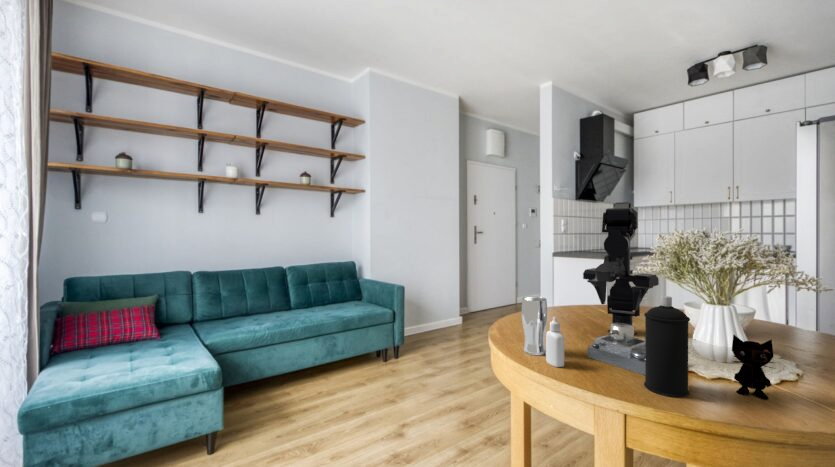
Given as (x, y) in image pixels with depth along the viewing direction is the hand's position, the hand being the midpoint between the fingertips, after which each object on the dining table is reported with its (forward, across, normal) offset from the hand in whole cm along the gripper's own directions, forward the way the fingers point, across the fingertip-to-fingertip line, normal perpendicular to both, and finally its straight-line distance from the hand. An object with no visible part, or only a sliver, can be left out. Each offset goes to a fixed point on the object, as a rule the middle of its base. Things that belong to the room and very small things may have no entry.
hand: (618, 307), depth 107 cm
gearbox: (+12, +7, -7) cm, 15 cm away
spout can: (+9, +4, -7) cm, 12 cm away
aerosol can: (+12, +20, -18) cm, 29 cm away
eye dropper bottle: (+12, -3, -24) cm, 27 cm away
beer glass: (+12, -12, -21) cm, 27 cm away
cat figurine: (+12, +31, -6) cm, 34 cm away
